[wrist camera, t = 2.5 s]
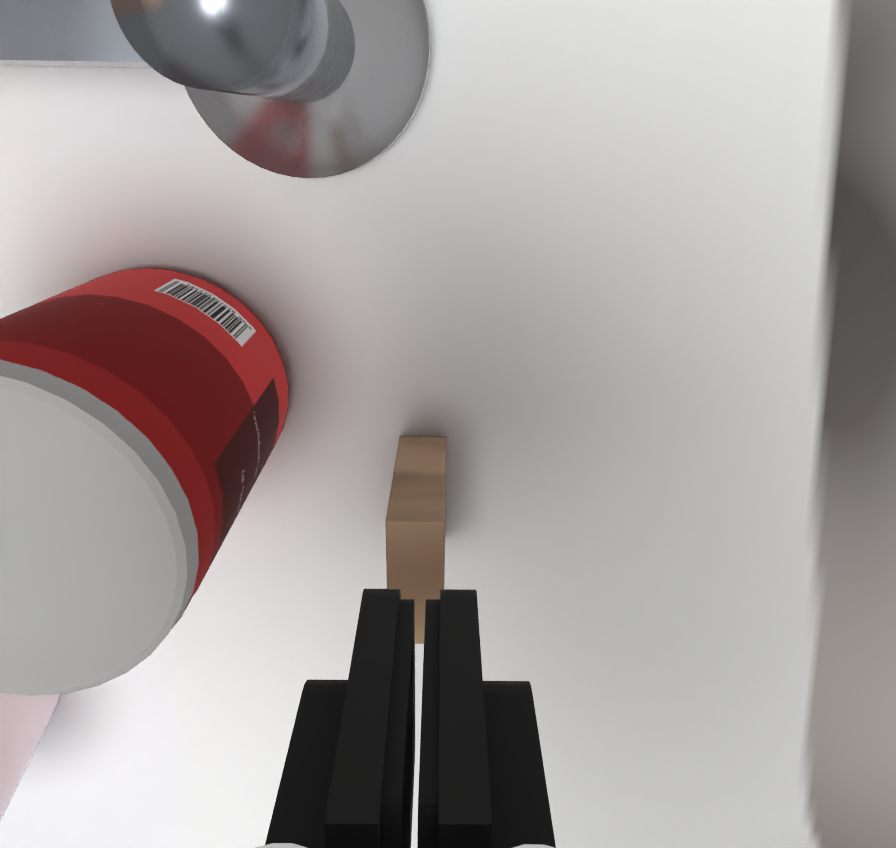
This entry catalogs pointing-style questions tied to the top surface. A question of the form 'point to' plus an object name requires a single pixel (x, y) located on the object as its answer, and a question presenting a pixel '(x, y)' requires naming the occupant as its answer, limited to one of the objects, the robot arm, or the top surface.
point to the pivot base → (335, 100)
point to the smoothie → (20, 737)
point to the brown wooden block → (417, 523)
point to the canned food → (122, 466)
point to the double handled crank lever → (191, 41)
